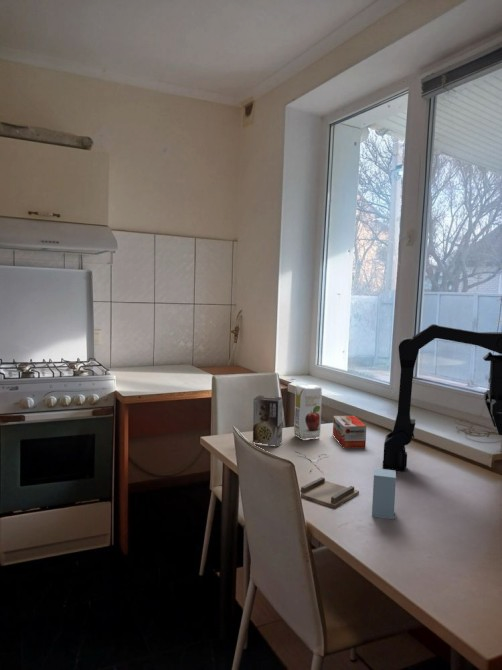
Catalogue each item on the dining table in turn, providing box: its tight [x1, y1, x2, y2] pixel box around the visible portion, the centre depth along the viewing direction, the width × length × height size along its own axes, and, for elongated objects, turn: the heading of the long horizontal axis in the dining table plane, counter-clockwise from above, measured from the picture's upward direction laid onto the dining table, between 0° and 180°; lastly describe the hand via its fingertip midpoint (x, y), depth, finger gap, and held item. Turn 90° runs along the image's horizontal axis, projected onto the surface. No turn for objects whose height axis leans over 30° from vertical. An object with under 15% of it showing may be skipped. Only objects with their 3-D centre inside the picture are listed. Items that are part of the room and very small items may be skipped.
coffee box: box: [252, 395, 284, 447], centre depth 174 cm, size 9×6×16 cm
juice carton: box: [293, 384, 323, 439], centre depth 182 cm, size 8×9×19 cm
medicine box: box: [332, 415, 367, 449], centre depth 179 cm, size 15×8×8 cm, turn 5°
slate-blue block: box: [371, 467, 397, 520], centre depth 121 cm, size 5×5×10 cm
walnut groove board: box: [300, 476, 360, 509], centre depth 132 cm, size 12×12×2 cm
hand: (498, 430), depth 144 cm, fingers open, 9 cm apart
